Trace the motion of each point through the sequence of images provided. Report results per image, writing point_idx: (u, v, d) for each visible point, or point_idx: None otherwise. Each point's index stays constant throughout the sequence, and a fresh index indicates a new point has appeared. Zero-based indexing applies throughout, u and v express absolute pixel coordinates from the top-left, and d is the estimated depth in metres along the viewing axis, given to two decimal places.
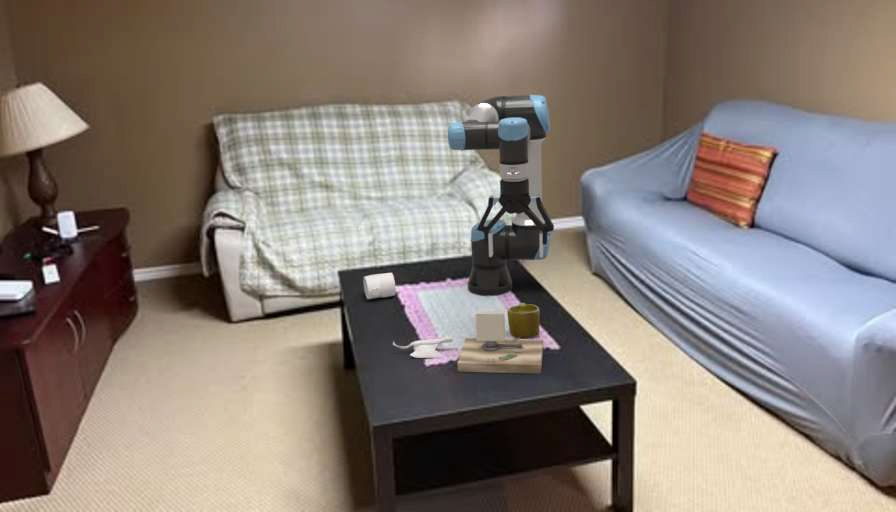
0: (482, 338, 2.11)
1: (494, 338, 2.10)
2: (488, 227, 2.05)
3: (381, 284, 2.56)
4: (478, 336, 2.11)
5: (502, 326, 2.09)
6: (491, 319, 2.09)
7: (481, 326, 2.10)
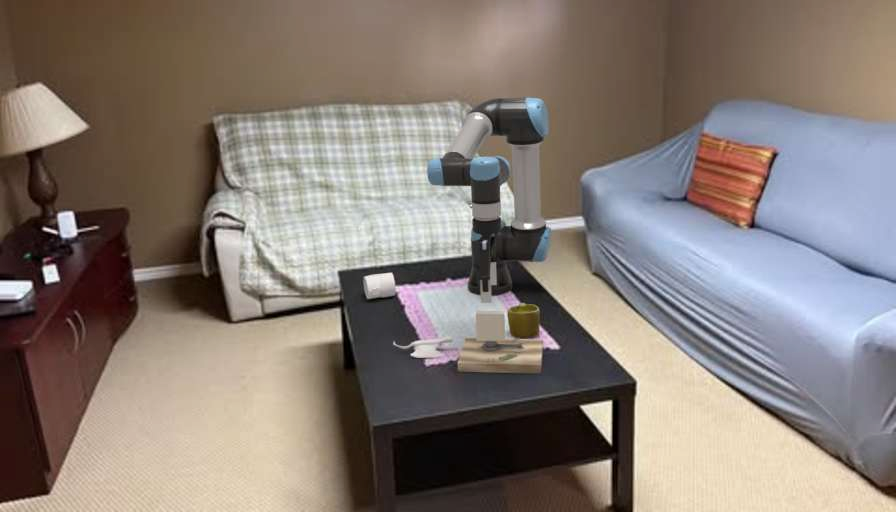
0: (482, 338, 2.11)
1: (494, 338, 2.10)
2: None
3: (381, 284, 2.56)
4: (478, 336, 2.11)
5: (502, 326, 2.09)
6: (491, 319, 2.09)
7: (481, 326, 2.10)
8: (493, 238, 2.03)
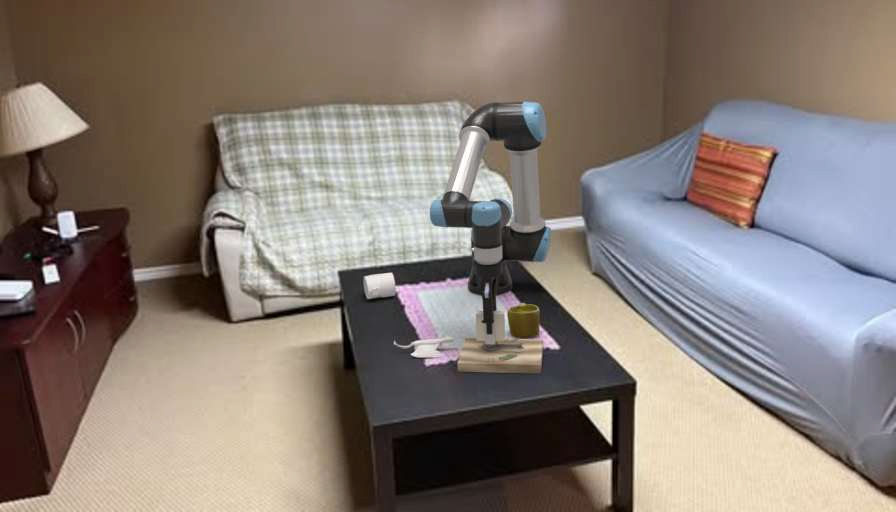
0: (482, 338, 2.11)
1: None
2: None
3: (381, 284, 2.56)
4: (478, 336, 2.11)
5: (502, 326, 2.09)
6: None
7: (481, 326, 2.10)
8: (495, 279, 2.07)
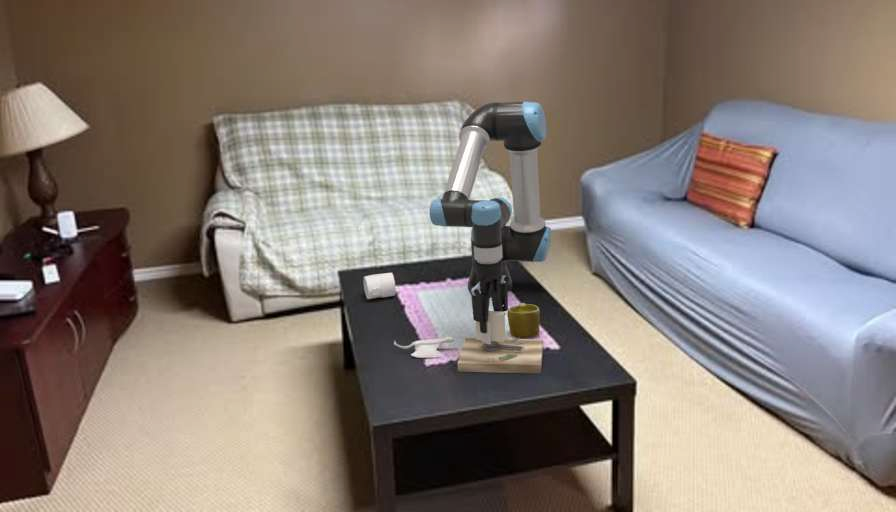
0: None
1: (493, 338, 2.10)
2: None
3: (381, 284, 2.56)
4: (478, 335, 2.12)
5: (501, 327, 2.09)
6: (490, 319, 2.09)
7: None
8: (496, 280, 2.06)
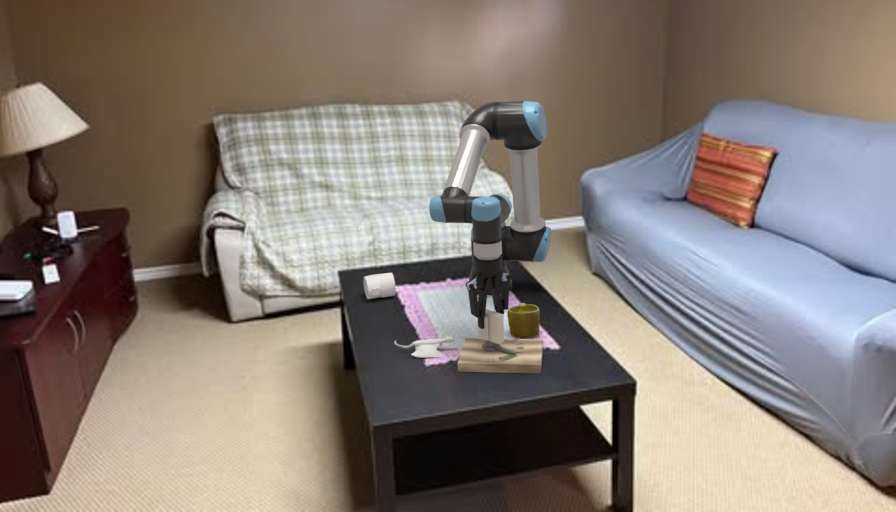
0: None
1: (491, 338, 2.10)
2: None
3: (381, 284, 2.56)
4: (479, 333, 2.13)
5: (497, 329, 2.08)
6: (488, 319, 2.09)
7: None
8: (495, 277, 2.05)
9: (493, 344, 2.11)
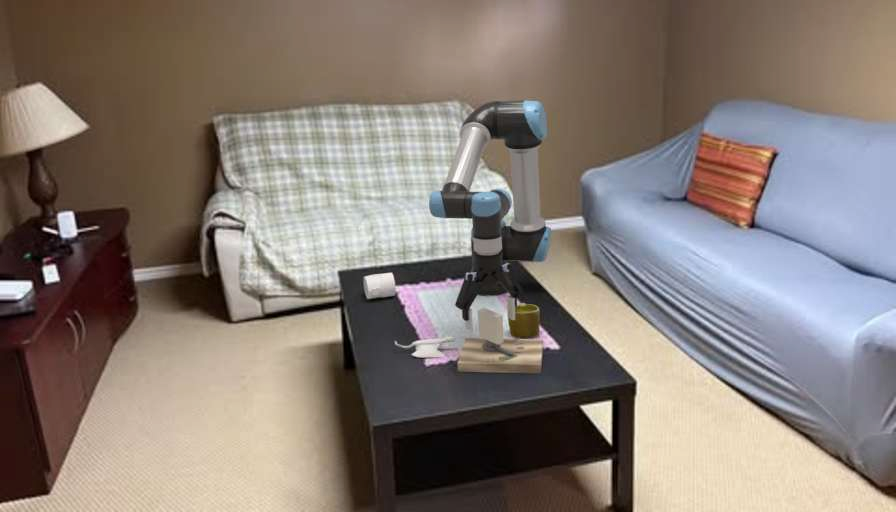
0: (482, 335, 2.13)
1: (490, 338, 2.10)
2: None
3: (381, 284, 2.56)
4: (479, 332, 2.13)
5: (495, 329, 2.07)
6: (488, 319, 2.09)
7: (481, 324, 2.12)
8: (494, 273, 2.05)
9: (492, 344, 2.11)
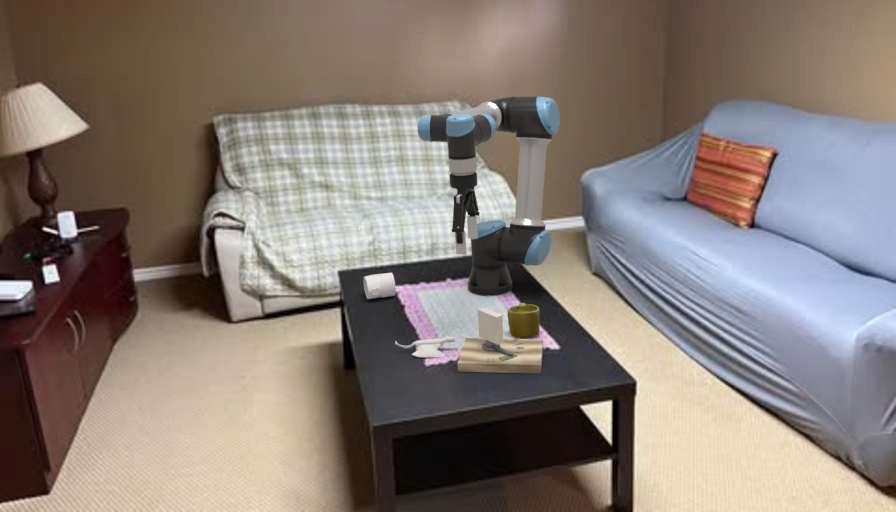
0: (482, 335, 2.13)
1: (490, 338, 2.10)
2: None
3: (381, 284, 2.56)
4: (479, 332, 2.13)
5: (495, 329, 2.07)
6: (488, 319, 2.09)
7: (481, 324, 2.12)
8: (470, 193, 2.12)
9: (492, 344, 2.11)
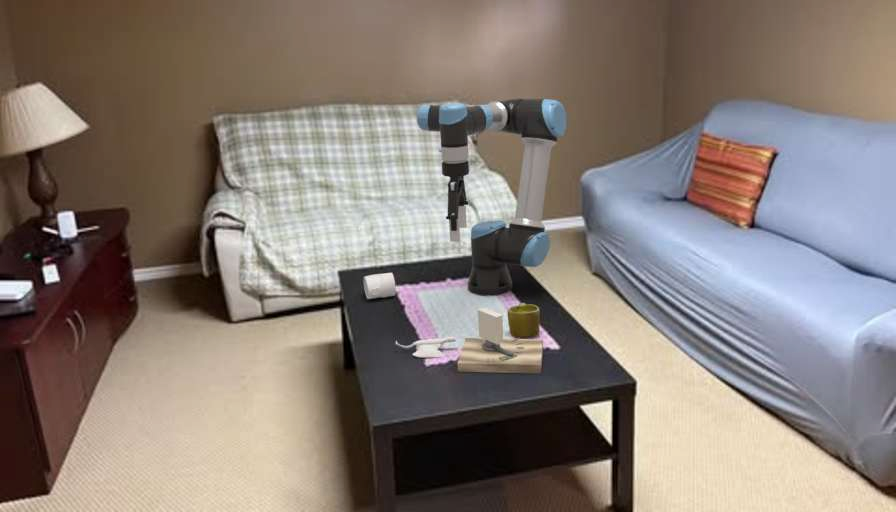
0: (482, 335, 2.13)
1: (490, 338, 2.10)
2: None
3: (381, 284, 2.56)
4: (479, 332, 2.13)
5: (495, 329, 2.07)
6: (488, 319, 2.09)
7: (481, 324, 2.12)
8: (462, 181, 2.15)
9: (492, 344, 2.11)
